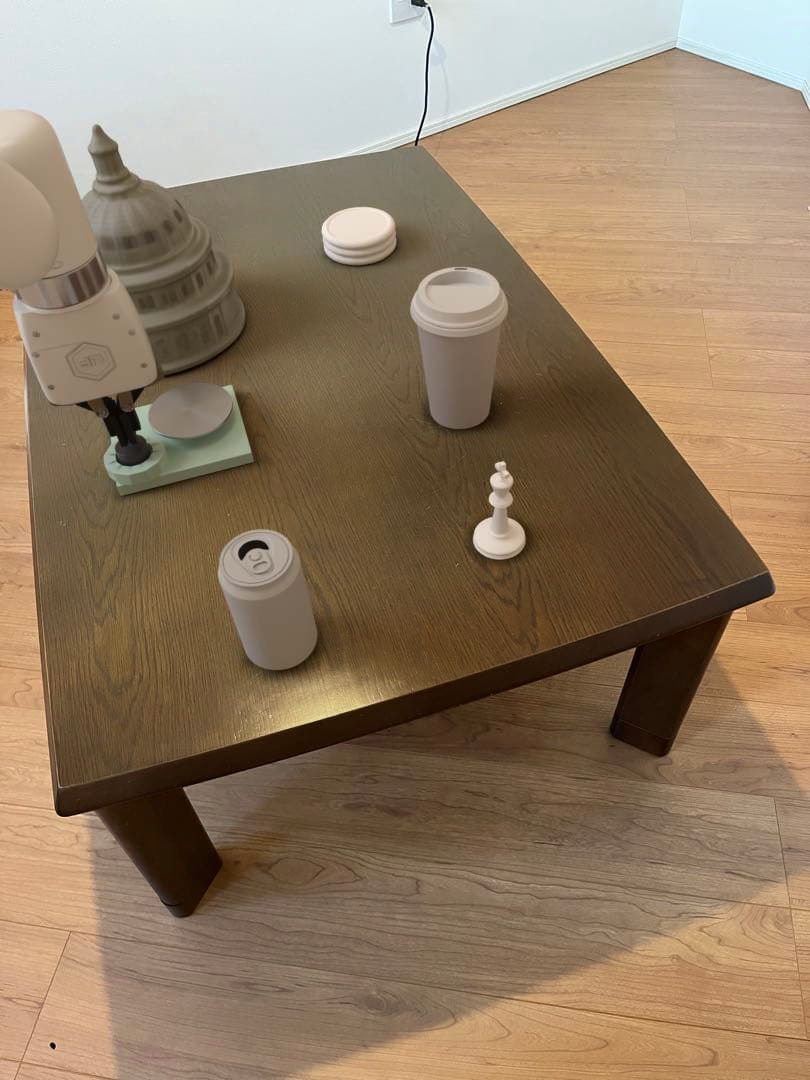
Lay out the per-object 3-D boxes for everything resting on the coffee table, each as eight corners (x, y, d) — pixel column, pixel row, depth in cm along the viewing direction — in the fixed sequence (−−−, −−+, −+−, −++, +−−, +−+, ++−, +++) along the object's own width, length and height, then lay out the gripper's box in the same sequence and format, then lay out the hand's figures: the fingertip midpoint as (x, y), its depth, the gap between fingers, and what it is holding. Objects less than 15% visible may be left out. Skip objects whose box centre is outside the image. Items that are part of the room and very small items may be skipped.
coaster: (310, 256, 114) (306, 232, 111) (350, 222, 119) (348, 199, 116) (371, 274, 110) (368, 249, 107) (410, 238, 115) (408, 214, 113)
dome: (210, 144, 81) (-3, 186, 77) (260, 355, 100) (90, 396, 96) (181, 71, 93) (-3, 106, 90) (230, 271, 112) (79, 305, 109)
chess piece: (490, 567, 76) (492, 491, 69) (463, 532, 79) (462, 456, 72) (535, 546, 78) (542, 470, 70) (507, 513, 81) (511, 436, 73)
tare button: (120, 470, 84) (115, 458, 83) (118, 449, 86) (113, 438, 85) (152, 462, 84) (147, 450, 83) (149, 442, 87) (144, 430, 85)
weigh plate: (153, 448, 85) (152, 446, 85) (144, 395, 91) (143, 393, 91) (239, 427, 87) (239, 424, 86) (225, 376, 92) (224, 374, 92)
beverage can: (302, 603, 75) (280, 513, 66) (330, 656, 71) (310, 568, 62) (235, 631, 73) (203, 542, 64) (260, 687, 69) (229, 601, 60)
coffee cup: (517, 395, 92) (524, 274, 81) (481, 449, 87) (483, 327, 75) (440, 373, 95) (436, 254, 84) (400, 423, 90) (391, 304, 79)
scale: (115, 501, 85) (106, 480, 83) (106, 424, 93) (97, 404, 91) (255, 465, 87) (249, 444, 85) (234, 394, 95) (229, 372, 93)
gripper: (-34, 319, 66) (54, 480, 80) (154, 277, 68) (207, 442, 82) (-31, 271, 71) (51, 431, 85) (144, 234, 73) (196, 396, 87)
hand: (128, 436), depth 83 cm, fingers closed
